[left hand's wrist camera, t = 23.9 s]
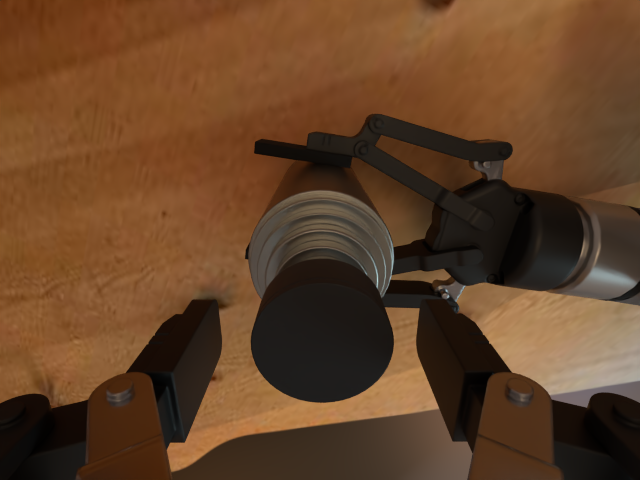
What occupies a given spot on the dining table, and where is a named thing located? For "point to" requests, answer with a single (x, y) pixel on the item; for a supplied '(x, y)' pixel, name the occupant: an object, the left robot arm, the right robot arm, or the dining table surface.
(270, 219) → the bottle
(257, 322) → the cap
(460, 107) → the dining table surface
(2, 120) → the dining table surface
